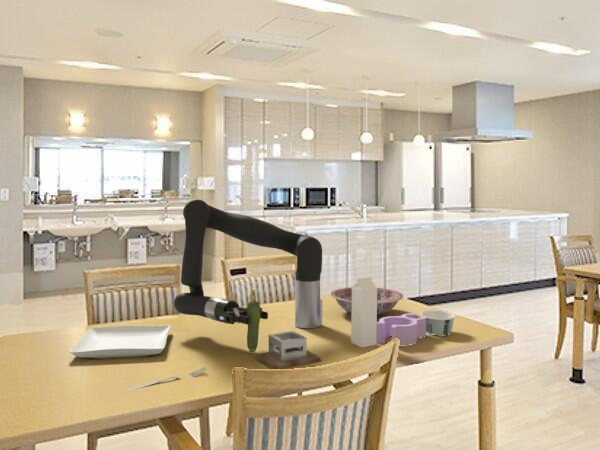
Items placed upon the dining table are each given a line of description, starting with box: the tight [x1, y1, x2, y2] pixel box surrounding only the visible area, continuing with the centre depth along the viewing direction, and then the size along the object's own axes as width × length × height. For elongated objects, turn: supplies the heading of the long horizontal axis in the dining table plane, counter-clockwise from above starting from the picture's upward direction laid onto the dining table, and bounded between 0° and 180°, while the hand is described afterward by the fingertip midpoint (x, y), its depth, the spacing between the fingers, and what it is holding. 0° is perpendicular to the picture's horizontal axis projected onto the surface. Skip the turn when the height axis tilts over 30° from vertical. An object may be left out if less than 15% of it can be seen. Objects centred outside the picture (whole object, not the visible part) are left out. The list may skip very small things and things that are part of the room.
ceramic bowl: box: [330, 286, 404, 316], centre depth 211 cm, size 29×29×8 cm
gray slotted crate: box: [268, 330, 308, 363], centre depth 156 cm, size 8×8×6 cm
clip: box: [376, 312, 427, 345], centre depth 177 cm, size 20×12×7 cm, turn 133°
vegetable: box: [246, 289, 262, 354], centre depth 162 cm, size 4×4×20 cm
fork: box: [126, 366, 208, 391], centre depth 138 cm, size 3×24×2 cm, turn 125°
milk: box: [350, 276, 378, 348], centre depth 170 cm, size 6×6×22 cm
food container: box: [420, 310, 457, 335], centre depth 184 cm, size 12×12×6 cm
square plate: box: [69, 324, 173, 359], centre depth 168 cm, size 27×27×4 cm
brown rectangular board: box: [254, 346, 322, 370], centre depth 156 cm, size 16×12×1 cm
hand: (258, 318), depth 161 cm, fingers open, 7 cm apart
